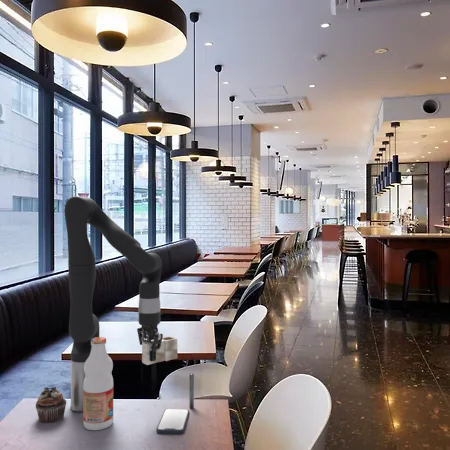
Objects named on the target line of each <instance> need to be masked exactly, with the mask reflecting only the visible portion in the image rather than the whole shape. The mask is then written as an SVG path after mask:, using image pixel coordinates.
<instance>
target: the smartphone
mask: <svg viewBox="0 0 450 450" xmlns="http://www.w3.org/2000/svg"><path fill="white" fill-rule="evenodd" d="M189 416H190V410H189V409H186V408H166V409H164V411H163V412H162V415H161V418H160V421H159V422H158V425H157V428H156V434H159V435H182V434H184V433H185V430H186V427H187V423H188V420H189Z"/></svg>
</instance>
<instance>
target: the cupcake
mask: <svg viewBox="0 0 450 450" xmlns="http://www.w3.org/2000/svg"><path fill="white" fill-rule="evenodd" d="M66 407H67V400H66V399H65V398H64V395H63V393H62V392H60V390H59V389H58V388H57V387H56V386H53V387H51V388H50V387H46V386H45V387H44V388H43V389H42V391H41V392H40V394H39V397H38V398H37V401H36V403H35V409H36V413H37V417H38V420H39V422H40V423H43V424H49V423H55V422H59V421H61V420H62V419H63V418H64V416H65V413H66V412H65V411H66Z"/></svg>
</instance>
